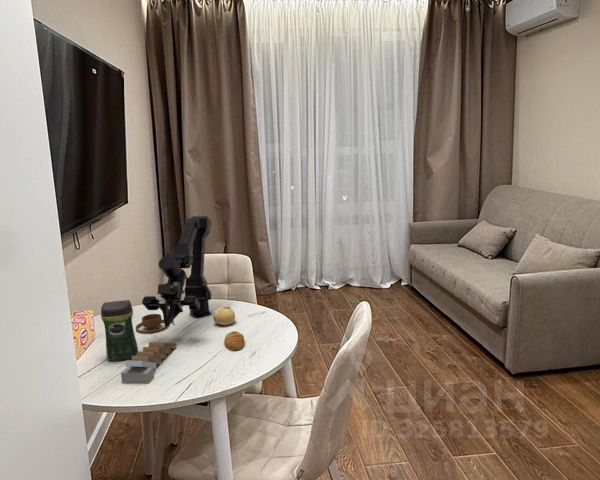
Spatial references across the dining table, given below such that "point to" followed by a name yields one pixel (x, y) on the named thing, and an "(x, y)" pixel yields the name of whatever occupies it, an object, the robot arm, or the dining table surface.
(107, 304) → the coffee jar
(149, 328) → the place setting
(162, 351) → the domino
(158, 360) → the domino
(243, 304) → the dining table surface
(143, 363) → the domino
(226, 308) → the onion
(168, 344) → the domino
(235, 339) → the pastry
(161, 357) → the domino
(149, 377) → the stop block
